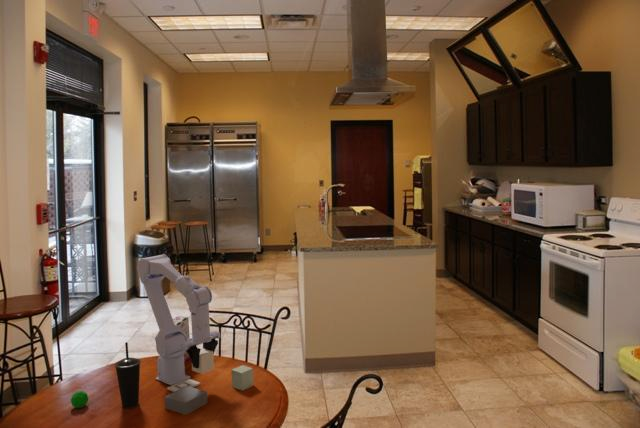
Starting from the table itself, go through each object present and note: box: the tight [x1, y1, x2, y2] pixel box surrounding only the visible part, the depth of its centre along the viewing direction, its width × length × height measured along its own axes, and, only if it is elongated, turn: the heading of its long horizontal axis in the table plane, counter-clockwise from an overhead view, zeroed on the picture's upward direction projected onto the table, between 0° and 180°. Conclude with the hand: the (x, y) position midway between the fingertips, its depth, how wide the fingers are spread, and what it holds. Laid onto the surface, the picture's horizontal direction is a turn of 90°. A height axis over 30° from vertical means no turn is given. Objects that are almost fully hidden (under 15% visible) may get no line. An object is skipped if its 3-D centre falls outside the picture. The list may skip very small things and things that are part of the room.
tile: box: [166, 378, 201, 393], centre depth 174 cm, size 6×9×1 cm, turn 141°
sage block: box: [231, 364, 254, 391], centre depth 173 cm, size 5×5×6 cm
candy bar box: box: [165, 315, 191, 364], centre depth 196 cm, size 11×5×16 cm, turn 169°
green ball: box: [70, 390, 89, 409], centre depth 161 cm, size 5×5×5 cm
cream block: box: [191, 347, 215, 375], centre depth 170 cm, size 5×5×6 cm
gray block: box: [164, 386, 208, 416], centre depth 160 cm, size 9×9×4 cm
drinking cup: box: [114, 341, 142, 409], centre depth 161 cm, size 8×8×20 cm
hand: (202, 364), depth 170 cm, fingers closed on cream block, 5 cm apart
